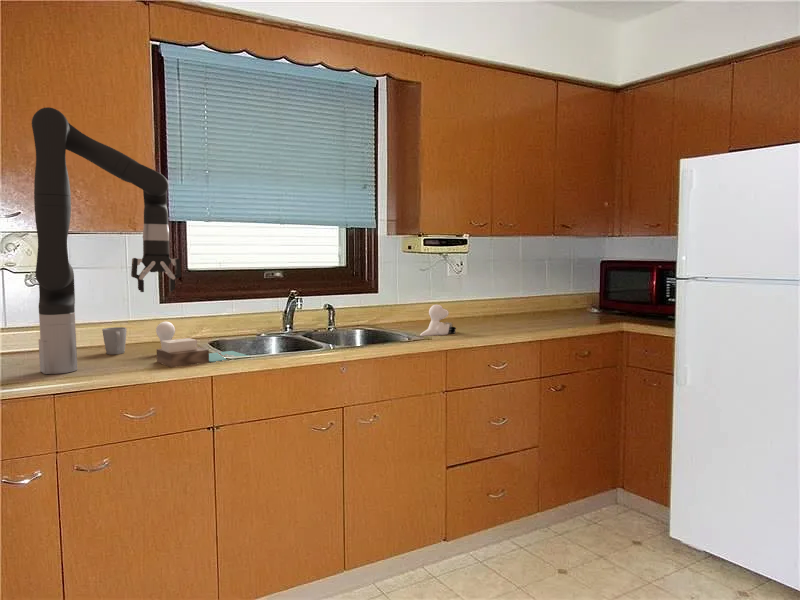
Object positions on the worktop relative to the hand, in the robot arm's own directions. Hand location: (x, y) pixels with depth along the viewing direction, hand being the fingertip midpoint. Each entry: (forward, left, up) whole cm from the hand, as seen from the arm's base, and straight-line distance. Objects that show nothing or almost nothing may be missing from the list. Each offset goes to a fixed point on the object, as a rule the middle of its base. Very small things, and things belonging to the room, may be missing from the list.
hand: (156, 291), depth 196 cm
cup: (-4, +28, -23) cm, 36 cm away
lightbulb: (+9, +17, -23) cm, 30 cm away
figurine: (+110, -12, -23) cm, 113 cm away
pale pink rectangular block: (+6, -2, -19) cm, 20 cm away
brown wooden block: (+7, -2, -23) cm, 24 cm away
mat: (+20, -2, -23) cm, 30 cm away
